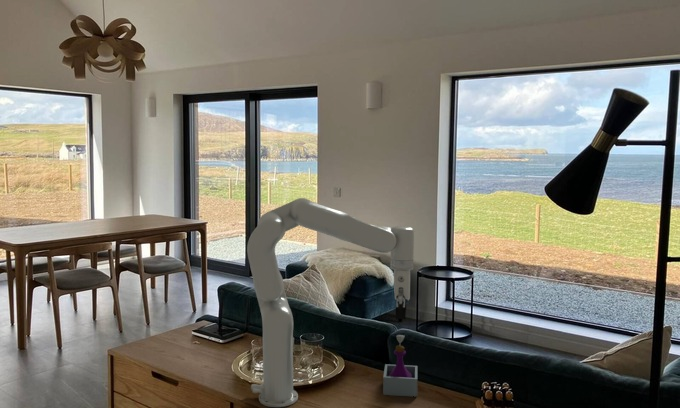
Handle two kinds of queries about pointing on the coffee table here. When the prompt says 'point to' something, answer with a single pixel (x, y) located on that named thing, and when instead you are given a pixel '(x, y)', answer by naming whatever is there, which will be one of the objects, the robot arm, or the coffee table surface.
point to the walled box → (400, 382)
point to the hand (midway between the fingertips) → (400, 314)
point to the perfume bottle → (400, 361)
